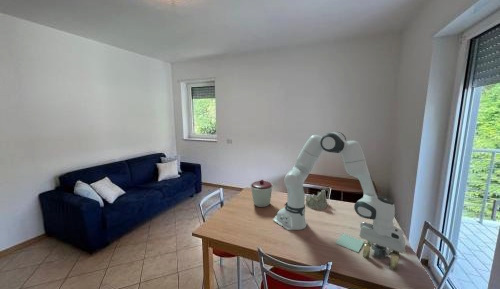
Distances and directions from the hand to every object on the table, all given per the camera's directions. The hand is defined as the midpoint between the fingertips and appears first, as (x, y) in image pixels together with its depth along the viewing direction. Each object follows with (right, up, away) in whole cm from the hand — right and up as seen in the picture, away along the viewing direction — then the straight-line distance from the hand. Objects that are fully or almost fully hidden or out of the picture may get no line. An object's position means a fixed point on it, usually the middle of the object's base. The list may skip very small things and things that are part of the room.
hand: (380, 251), depth 110 cm
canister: (-59, +8, +61) cm, 85 cm away
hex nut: (0, -2, 0) cm, 2 cm away
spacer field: (0, -2, 0) cm, 2 cm away
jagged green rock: (-15, +8, +58) cm, 61 cm away
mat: (-11, 0, +10) cm, 15 cm away
